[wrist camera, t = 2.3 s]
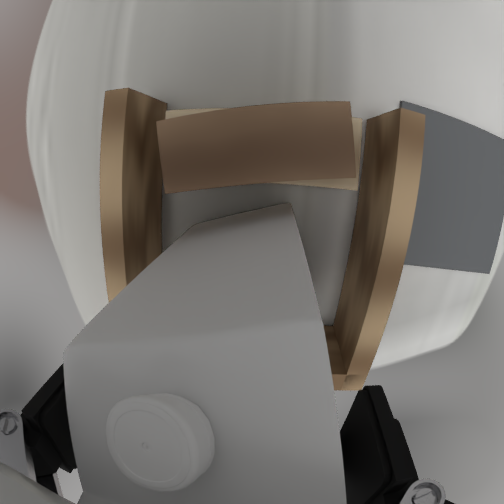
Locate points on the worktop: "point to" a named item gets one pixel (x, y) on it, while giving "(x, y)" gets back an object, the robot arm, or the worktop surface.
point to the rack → (364, 234)
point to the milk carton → (209, 376)
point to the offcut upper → (257, 145)
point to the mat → (457, 196)
